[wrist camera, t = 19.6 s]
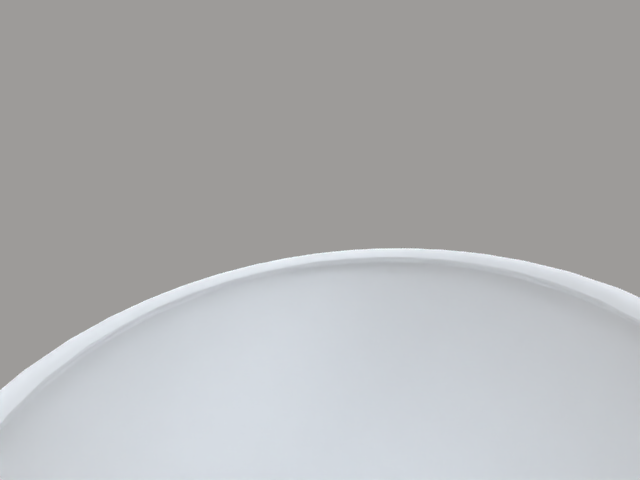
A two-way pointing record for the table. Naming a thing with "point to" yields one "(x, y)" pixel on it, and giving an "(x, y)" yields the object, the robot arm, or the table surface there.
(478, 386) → the cup
